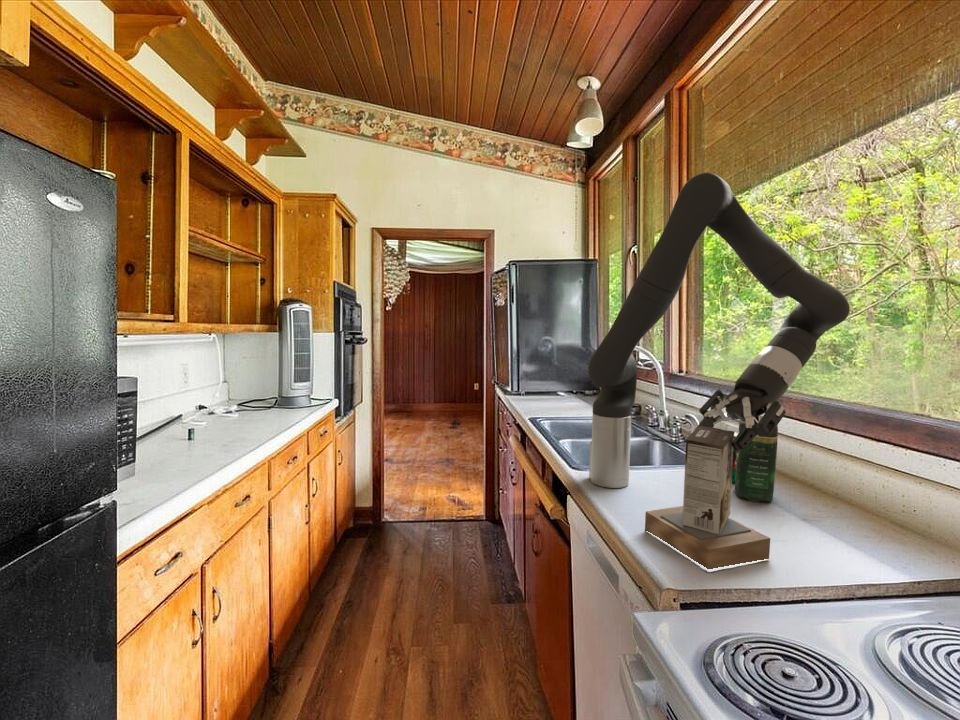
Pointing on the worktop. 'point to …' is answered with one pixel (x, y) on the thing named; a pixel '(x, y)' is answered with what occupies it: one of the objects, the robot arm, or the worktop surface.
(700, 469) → the coffee box
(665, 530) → the block
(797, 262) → the robot arm
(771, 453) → the coffee jar
